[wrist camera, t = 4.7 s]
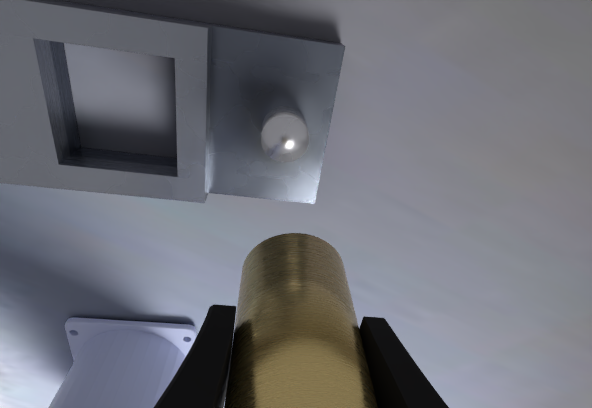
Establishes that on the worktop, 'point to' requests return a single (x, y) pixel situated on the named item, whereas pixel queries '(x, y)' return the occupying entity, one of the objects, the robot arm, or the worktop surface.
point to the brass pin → (297, 331)
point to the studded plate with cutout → (189, 105)
